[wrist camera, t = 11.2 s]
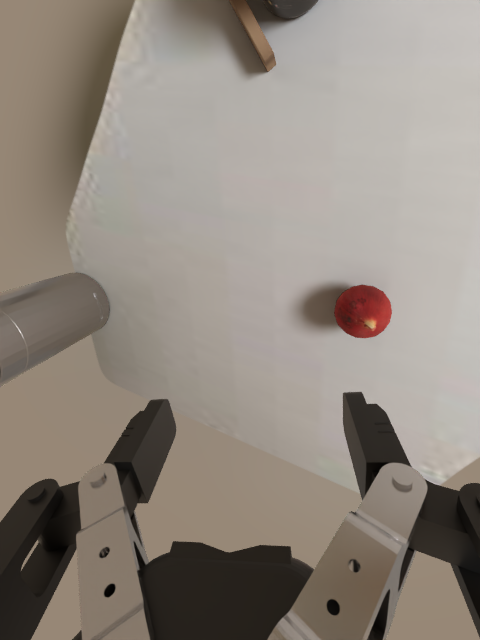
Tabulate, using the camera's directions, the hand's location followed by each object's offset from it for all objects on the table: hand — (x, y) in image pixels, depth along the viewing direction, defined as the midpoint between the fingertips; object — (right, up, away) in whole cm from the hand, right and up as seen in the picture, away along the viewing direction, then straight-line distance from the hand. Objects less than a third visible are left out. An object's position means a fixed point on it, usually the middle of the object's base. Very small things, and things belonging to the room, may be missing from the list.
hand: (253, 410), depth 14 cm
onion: (+14, +6, +23) cm, 28 cm away
